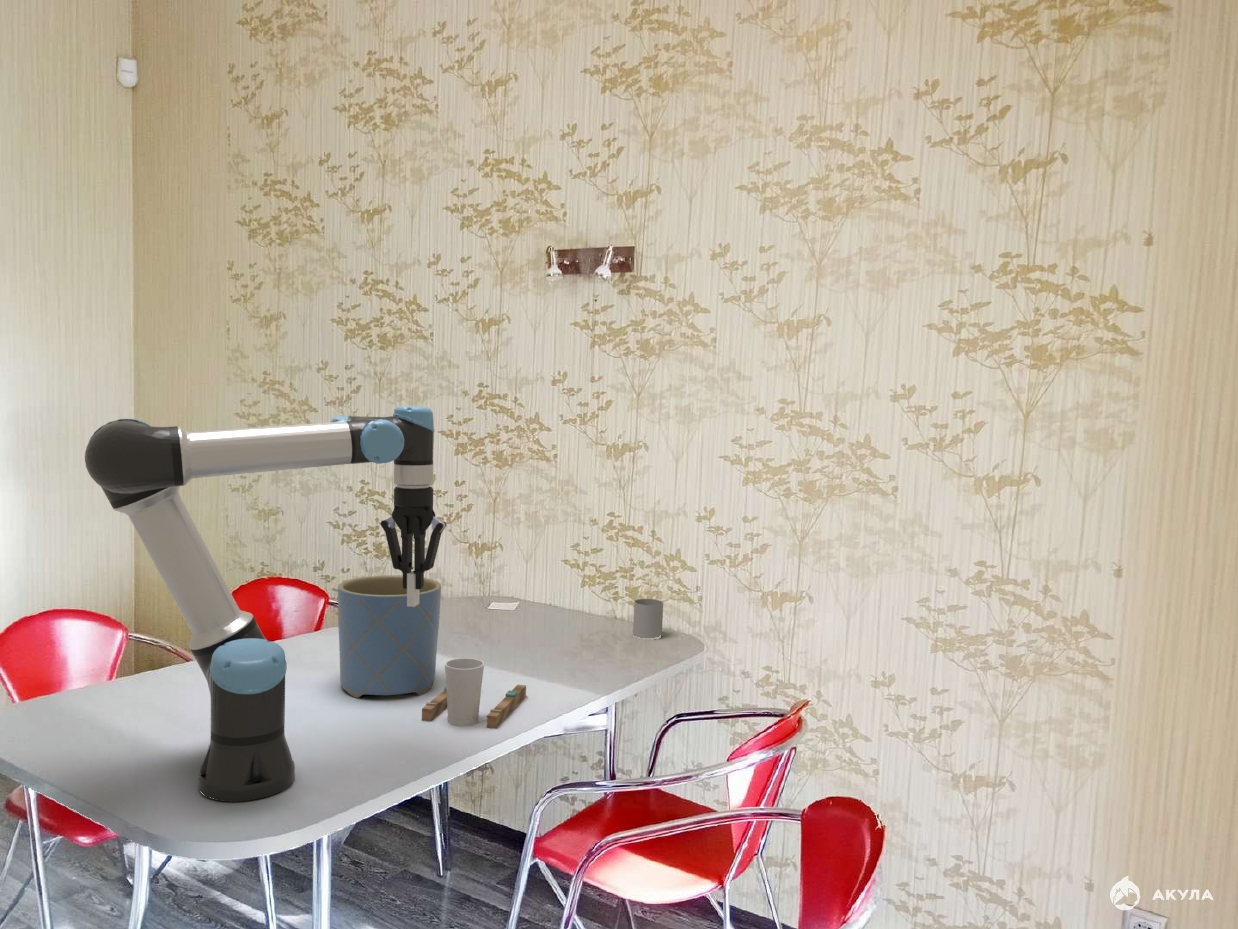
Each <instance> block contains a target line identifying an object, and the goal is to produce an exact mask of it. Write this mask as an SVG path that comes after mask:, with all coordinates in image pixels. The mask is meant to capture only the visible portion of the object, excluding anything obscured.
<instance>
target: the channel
mask: <svg viewBox="0 0 1238 929" xmlns="http://www.w3.org/2000/svg"><path fill="white" fill-rule="evenodd" d="M526 696H527V685H525V684H516V686H514V688H512V690H507V691H506V693H505V696H504V698H502V700H501V701H500V702H499V703H497V705H496V706H495V707H494V708H491V709H490V712H489V713H488V714H487V716H486V728H487V729H497V728H498V727H499V726H500V725H501V724H502V723H503V722H504V721H505V720H506V718H508V716H509V715H511V713H512V712H514V710H515V708H517V707H518V705H519V704H520V703H521V702H522V701H523V700H524V699H525V698H526ZM446 709H447V691H446V686H445V687H443V691H442V692H441V693H440V694H438V695H437V696H435V697H434V698H433V699H431V701H430V702H425V705H424V706H423V707H422V708H421V721H424V722H432V721H433V720H434V719H435V718H437V717H438V716H439V715H440V714H441V713H442V712H443V711H445V710H446Z"/></svg>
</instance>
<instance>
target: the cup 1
mask: <svg viewBox="0 0 1238 929" xmlns="http://www.w3.org/2000/svg"><path fill="white" fill-rule="evenodd" d="M484 668H485V662H484V661H483V660H480V659H477V658H474V657H473V658H471V657H461V658H459V657H458V658H452V659H449V660H447V661H445V663H444V673H445V687H446V691H447V708H446V709H447V723H448V724H450V725H453V726H458V727H467V726H472V725H475V724H477V723H479V714H480V703H481V697H482V696H481V694H482V685H483V678H484Z"/></svg>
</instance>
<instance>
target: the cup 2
mask: <svg viewBox="0 0 1238 929" xmlns="http://www.w3.org/2000/svg"><path fill="white" fill-rule="evenodd" d="M633 604H634V605H633V624H632V628H633V629H632V636H633V635H634V636H637V637H640V638H655V637H659V636H660V635H662V636H663V617H664V616H663V615H664V601H662V600H659V599H655V598H654V599H653V598H641V599H636V600H634V602H633Z"/></svg>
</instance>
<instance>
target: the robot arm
mask: <svg viewBox="0 0 1238 929" xmlns="http://www.w3.org/2000/svg"><path fill="white" fill-rule="evenodd" d="M434 426H435V425H434V412H433V410H432V409H431V408H430V407H428V406H427V407H426V406H396V407H395V408H394V410H393V414H392V416H391V415H389V416H354V415H346V416H335V417H333V418H331V420H330V421H329V422H319V423H300V424H289V425H287V424H286V425H272V426H269V425H268V426H256V427H255V426H254V427H243V428H242V427H241V428H227V429H226V428H225V429H211V430H197V431H196V430H195V431H187V430H185V429H184V428H183V427H181V426H179V425H175V426H152V425H150V424H148V423H146V422H144V421H142V420H140V419H139V420H138V419H135V418H119V419H116V420H113V421H109V422H106V424H103V425H101V426H100V427H99V428H97V429H96V430H95V431H94V432H93V434H92V435H91V437H90V439H89V440H88V443H87V444H86V447H85V448H86V449H85V452H84V463H85V468H86V471H87V473H88V475H89V476H90V478H91V479H92V480H93V481H94V482H95V483H96V484H97V485H98V486H99V487H100V488H101V489H102V491H103V494H104V495H105V496H106V499H107V500H108V503H109V504H110V505H111V508H112V509H113V510H114V511H116V512H119V513H121V514H122V513H123V514H125V515H126V516H127V517H128V518H129V519H130V521H131V523H132V526H133V527H134V529H135V531H136V532H137V534H138V536H139V537H140V539H141V541H142V543H143V546H144V547H145V549H146V551H147V553H148V554H149V556H150V559H151V560H152V561H153V564H154V565H155V567H156V570H157V571H158V573H159V575H160V577H161V578H162V580H163V582H164V584H165V585H166V588H167V590H168V591H169V593H170V595H171V596H172V599H173V601H174V602H175V604H176V606H177V607H178V609H179V612H180V613H181V615H182V618H183V619H184V620H185V622H186V624H187V626H188V627H189V630H190V632H191V634H192V635H191V638H190V640H189V643H188V647H189V648H188V649H189V650H190V651H191V654H192V655H193V657H194V658H195V662H197V664H198V666H199V668H200V670H201V671H202V673H203V675H204V678H205V680H206V681H207V686H208V690H209V695H210V740H209V745H208V747H207V751H206V754H205V757H204V759H203V762H202V765H201V767H200V770H199V773H198V792H199V791H201V792H202V793H203V794H204V795H205V796H207V797H211V798H214V799H217V800H216V801H219V800H224V801H223V802H246V801H254V800H259V799H263V798H267V797H270V796H274V795H277V794H279V793H281V792H283V791H285V790H286V789H287V788H289V787H290V786H291V785H292V784H293V783H294V781H295V776H296V775H295V774H296V773H295V772H296V767H295V761H294V760H293V757H292V752H291V751H290V747H289V745H288V742H287V738H286V735H285V727H286V726H285V722H286V721H285V718H286V717H285V716H286V715H285V714H286V713H285V712H286V675H287V674H286V673H287V661H286V653H285V650H284V648H283V647H282V646H281V645H280V644H278V643H277V642H274V641H269V640H267V638H266V637H265V636H264V634H263V632H262V630H261V628H260V627H259V625H258V623H257V622H258V621H257V620H256V619H255V617H254V615H253V613H251V612H247V611H245V610H241V609H240V607H239V606H238V604H237V602H236V600H235V598H234V596H233V593H232V592H231V590H230V589H229V587H228V585H227V582H226V581H225V579H224V577H223V575H222V573H221V571H220V569H219V568H218V566H217V564H216V562H215V560H214V557H213V556H212V554H211V553H210V550H209V549H208V547H207V545H206V543H205V541H204V539H203V537H202V535H201V534H200V531H199V530H198V527H197V526H196V524H195V522H194V520H193V518H192V516H191V514H190V513H189V510H188V509H187V506H186V504H185V503H184V501H183V499H182V497H181V495H180V493H179V490H180V488H181V487H182V486H187V484H188V483H189V482H191V480H193V479H198V478H200V479H201V478H211V477H220V476H223V477H224V476H231V475H232V476H233V475H242V474H243V475H244V474H255V473H262V472H263V473H264V472H265V473H267V472H276V471H286V470H288V471H289V470H298V469H307V468H320V467H332V466H339V465H343V466H344V465H353V464H354V465H355V464H356V465H357V464H364V463H365V464H367V463H375V464H377V465H379V464H381V465H382V464H387V463H390V462H393V484H395V487H394V488H393V510H392V512H391V516H389V517H388V518H387V519H384V520H381V521H380V526H381V528H382V529H383V531H384V533H385V537H386V541H387V546H388V549H389V555H390V560H391V563H392V567H393V569H394V570H398V571H401V573H402V576H403V588H404V589H407V606H408V607H415V606H416V605H418V604H419V589H422V588H423V586H424V578H425V572H427V571H429V570H431V569H433V568H434V565H435V560H436V557H437V553H438V549H439V545H440V541H441V536H442V534H443V532H444V530H445V529H446V527H447V525H448V524H447V522H446V521H441V520H440V519H438V518H437V517H436V513H435V511H434V488H433V487H432V486H431V485H433V484H434V441H435V440H434V436H435V427H434ZM396 525H397V527H398V529H399V530H400V538H401V546H400V541H399V537H398V533H397V528H396ZM430 526H431V530H432V532H431V534H430V538H429V542H428V546H427V550H426V534H427V530H428V528H430ZM413 542H414V545H413ZM413 547H414V554H413ZM413 556H414V564H413ZM413 565H414V566H413ZM205 796H204V797H205ZM207 797H206V798H207ZM214 799H213V800H214Z"/></svg>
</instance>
